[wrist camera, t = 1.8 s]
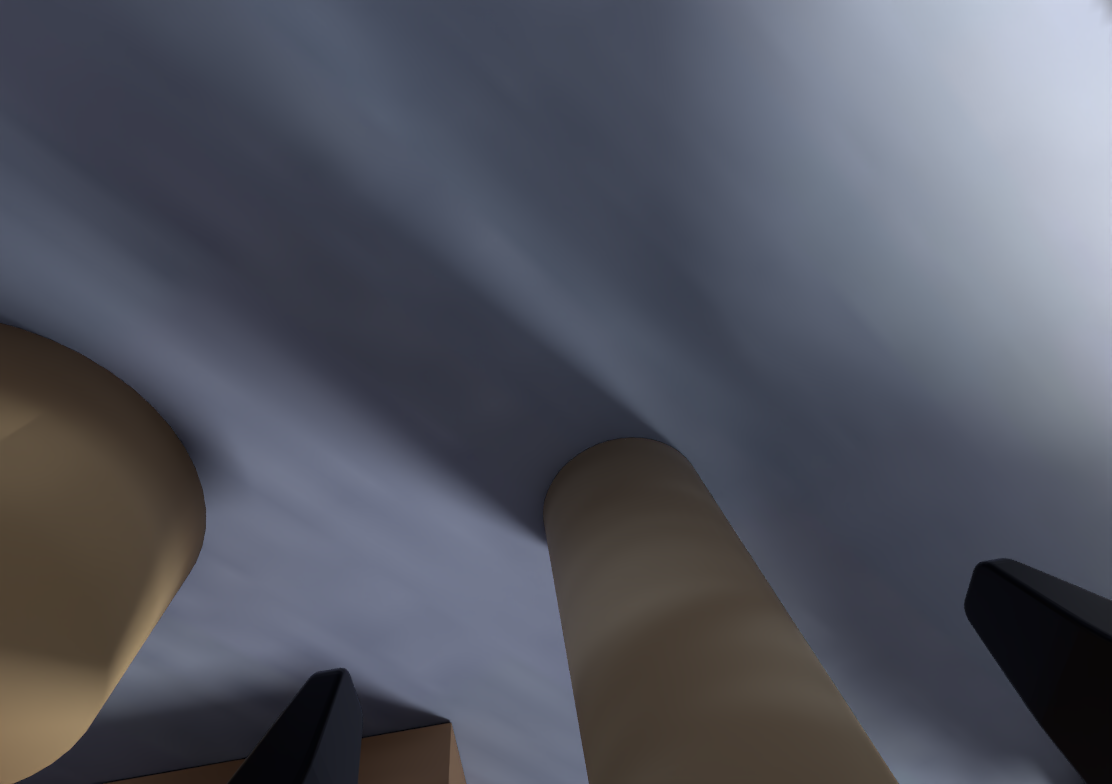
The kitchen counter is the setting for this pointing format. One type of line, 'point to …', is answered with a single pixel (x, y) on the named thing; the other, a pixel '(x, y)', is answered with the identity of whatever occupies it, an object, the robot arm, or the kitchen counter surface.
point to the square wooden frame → (361, 761)
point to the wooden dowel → (684, 637)
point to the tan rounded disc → (80, 541)
